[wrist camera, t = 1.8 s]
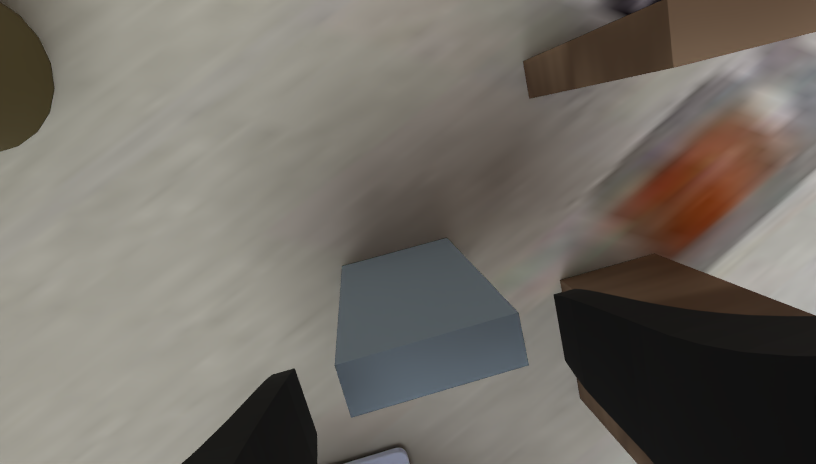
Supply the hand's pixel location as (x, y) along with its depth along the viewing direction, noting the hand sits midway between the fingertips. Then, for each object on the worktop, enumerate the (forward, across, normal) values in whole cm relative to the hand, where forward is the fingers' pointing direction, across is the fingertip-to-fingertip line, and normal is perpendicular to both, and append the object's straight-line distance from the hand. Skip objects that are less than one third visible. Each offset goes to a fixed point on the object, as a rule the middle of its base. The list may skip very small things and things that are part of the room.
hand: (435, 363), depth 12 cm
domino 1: (+9, 0, 0) cm, 9 cm away
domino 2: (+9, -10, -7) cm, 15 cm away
